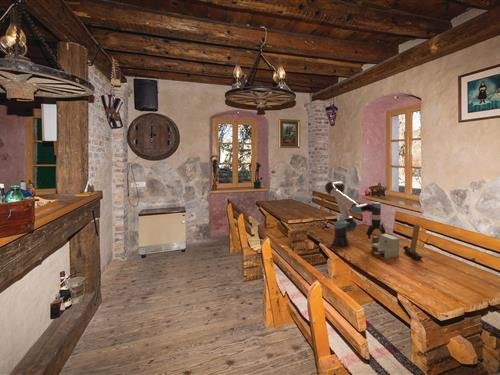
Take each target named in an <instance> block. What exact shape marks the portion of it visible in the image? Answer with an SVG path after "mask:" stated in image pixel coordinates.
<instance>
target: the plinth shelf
mask: <svg viewBox="0 0 500 375" xmlns="http://www.w3.org/2000/svg"><path fill="white" fill-rule="evenodd" d="M372 246H374V247H376V248H379V249H381V250H383V251H385V254H383V255H384V256H383V257H384V259H390V258H395V257H399V255H400V253H399V252H400V237H396V236H393V235H391V234H388V233H385V234H379V243H374V244H372V243H371V247H372Z"/></svg>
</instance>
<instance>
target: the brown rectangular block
mask: <svg viewBox="0 0 500 375" xmlns="http://www.w3.org/2000/svg"><path fill="white" fill-rule="evenodd" d="M379 242H380V236H377V235H374V236H371V249H372V250H373V251H376V250H377V251H379V252H382V255H385V251H383V250H381V249H379V248H376V247H374V246H372V244H374V243H379Z"/></svg>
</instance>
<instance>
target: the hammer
mask: <svg viewBox="0 0 500 375" xmlns="http://www.w3.org/2000/svg"><path fill="white" fill-rule="evenodd" d="M420 228H421V225H420V224H418V223H414V224H413V228H412V230H413V231H412V236H411V243H410V247H409V246H408V245H404V247H403V246H402V247H403V248H402V249H403V250H404V253H405V254H406V255H408V256H409V257H411V258H412V259H413V258H414V259H413V260H421V259H423V258H424V256H422V255H419V253H418V252H417V251H416V249H417V244H418V239H419V234H420Z"/></svg>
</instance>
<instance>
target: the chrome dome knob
mask: <svg viewBox="0 0 500 375" xmlns="http://www.w3.org/2000/svg"><path fill="white" fill-rule="evenodd" d="M374 254H375V255H376V256H377V255H378V256H381V255H383V253H382V252H379V251H376V250H374Z"/></svg>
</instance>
